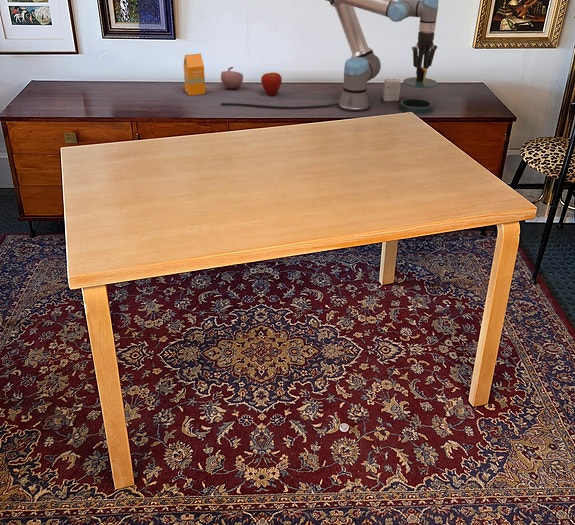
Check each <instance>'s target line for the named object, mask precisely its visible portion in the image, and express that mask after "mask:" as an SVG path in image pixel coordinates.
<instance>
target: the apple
mask: <svg viewBox="0 0 575 525" xmlns="http://www.w3.org/2000/svg"><path fill="white" fill-rule="evenodd" d="M260 82H261V85H262V88H263V90H264V92H265V94H267V95H268V96H269V97H270V96H271V97H273V96H276V94H278V92H279V89H280V88H281V85H282V82H283V77H282V75H281V74H280V73H279V72H267V73H263V75H262V76H261V77H260Z"/></svg>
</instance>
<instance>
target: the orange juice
mask: <svg viewBox="0 0 575 525" xmlns="http://www.w3.org/2000/svg"><path fill="white" fill-rule="evenodd" d="M183 74H184V75H183V79H184V91H185V93H186V94H187V95H188V96H197V95H206V78H205V77H206V76H205V65H204V61H203V57H202V53H193V54H192V53H191V54H185V55H184V60H183Z"/></svg>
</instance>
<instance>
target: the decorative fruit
mask: <svg viewBox="0 0 575 525" xmlns="http://www.w3.org/2000/svg"><path fill="white" fill-rule="evenodd" d="M233 68H234V66H230V67H228V68H227V70H225V71H221V73H220V81H221V84H222V85H223V86H224V87H225V88H227V89H229V90H235V89H238V88H239V87H240V86H241V85H242V84H243V82H244V75H243V73H241V72H239V71H235V70H232V69H233Z"/></svg>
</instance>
